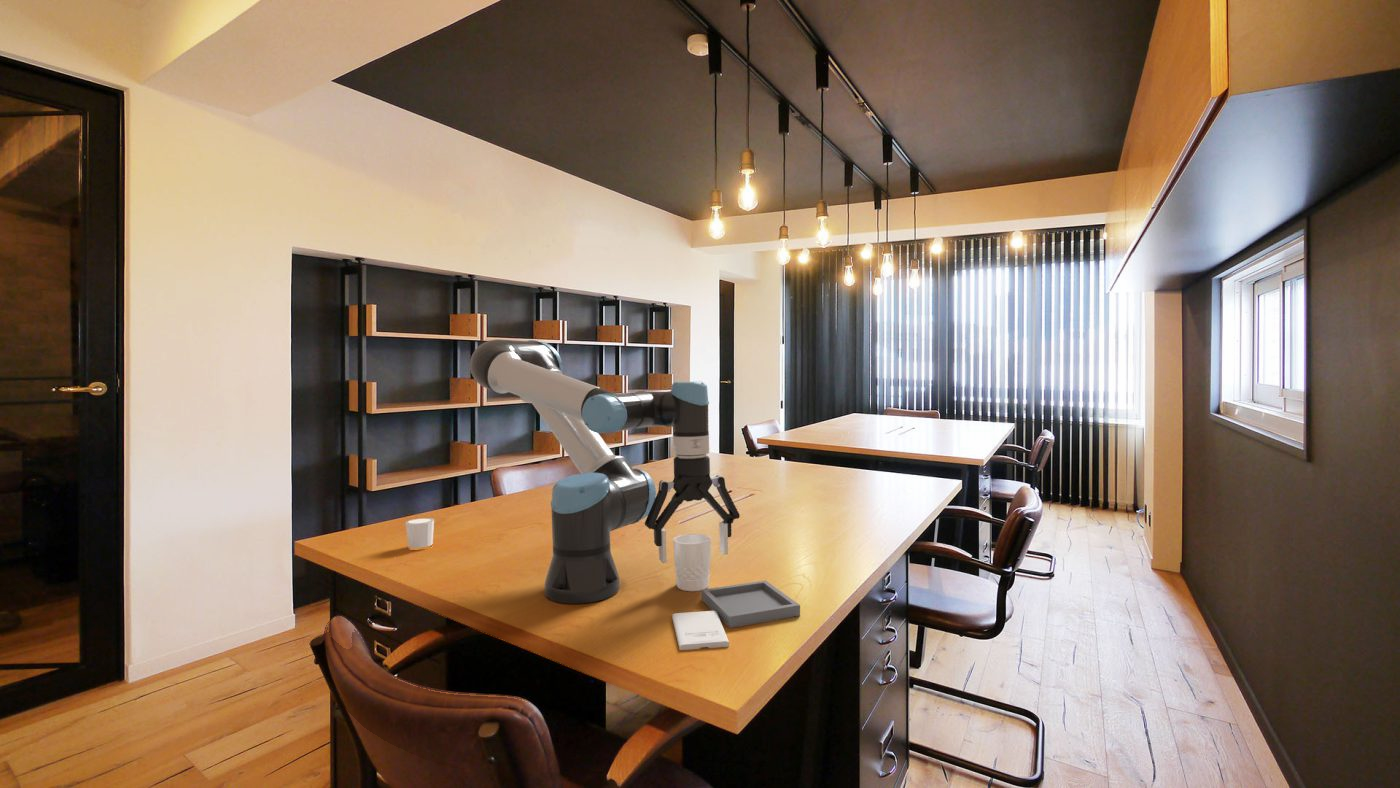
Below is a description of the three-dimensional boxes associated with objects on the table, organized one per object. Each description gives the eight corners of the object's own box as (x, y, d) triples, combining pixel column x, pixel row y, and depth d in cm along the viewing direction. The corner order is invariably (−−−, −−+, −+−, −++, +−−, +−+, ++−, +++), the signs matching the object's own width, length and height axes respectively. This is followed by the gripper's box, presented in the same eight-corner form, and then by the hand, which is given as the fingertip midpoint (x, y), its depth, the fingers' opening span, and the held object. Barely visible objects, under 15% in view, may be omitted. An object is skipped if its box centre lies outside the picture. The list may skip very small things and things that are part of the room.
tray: (729, 627, 106) (729, 616, 106) (701, 599, 119) (701, 589, 119) (800, 615, 111) (800, 605, 111) (765, 590, 124) (765, 580, 124)
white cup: (707, 593, 122) (707, 545, 122) (669, 591, 124) (669, 543, 123) (714, 580, 130) (714, 534, 129) (678, 578, 131) (678, 532, 131)
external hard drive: (716, 618, 111) (729, 650, 99) (672, 622, 110) (679, 653, 98) (716, 610, 111) (729, 640, 99) (672, 613, 110) (679, 644, 98)
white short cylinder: (400, 550, 154) (399, 523, 154) (417, 543, 161) (416, 517, 160) (424, 551, 153) (423, 524, 153) (440, 544, 160) (439, 517, 159)
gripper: (637, 462, 118) (640, 570, 118) (753, 453, 126) (755, 554, 127) (628, 457, 125) (631, 559, 125) (738, 449, 133) (741, 544, 134)
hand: (694, 556), depth 126 cm, fingers open, 13 cm apart
